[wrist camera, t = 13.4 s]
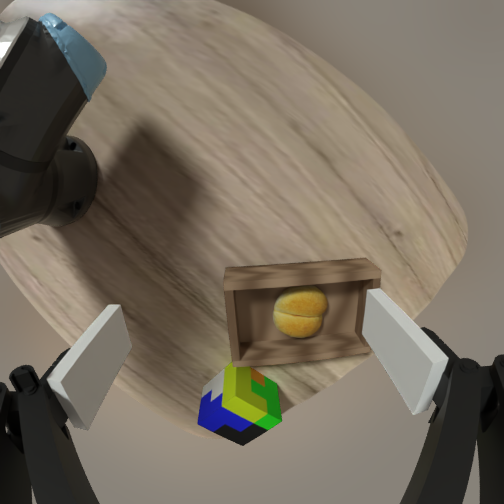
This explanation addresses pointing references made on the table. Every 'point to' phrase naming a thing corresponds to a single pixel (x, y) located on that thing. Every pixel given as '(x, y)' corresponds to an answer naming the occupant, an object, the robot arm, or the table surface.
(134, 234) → the table surface
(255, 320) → the wooden box
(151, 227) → the table surface
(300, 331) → the bread roll
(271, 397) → the puzzle toy
